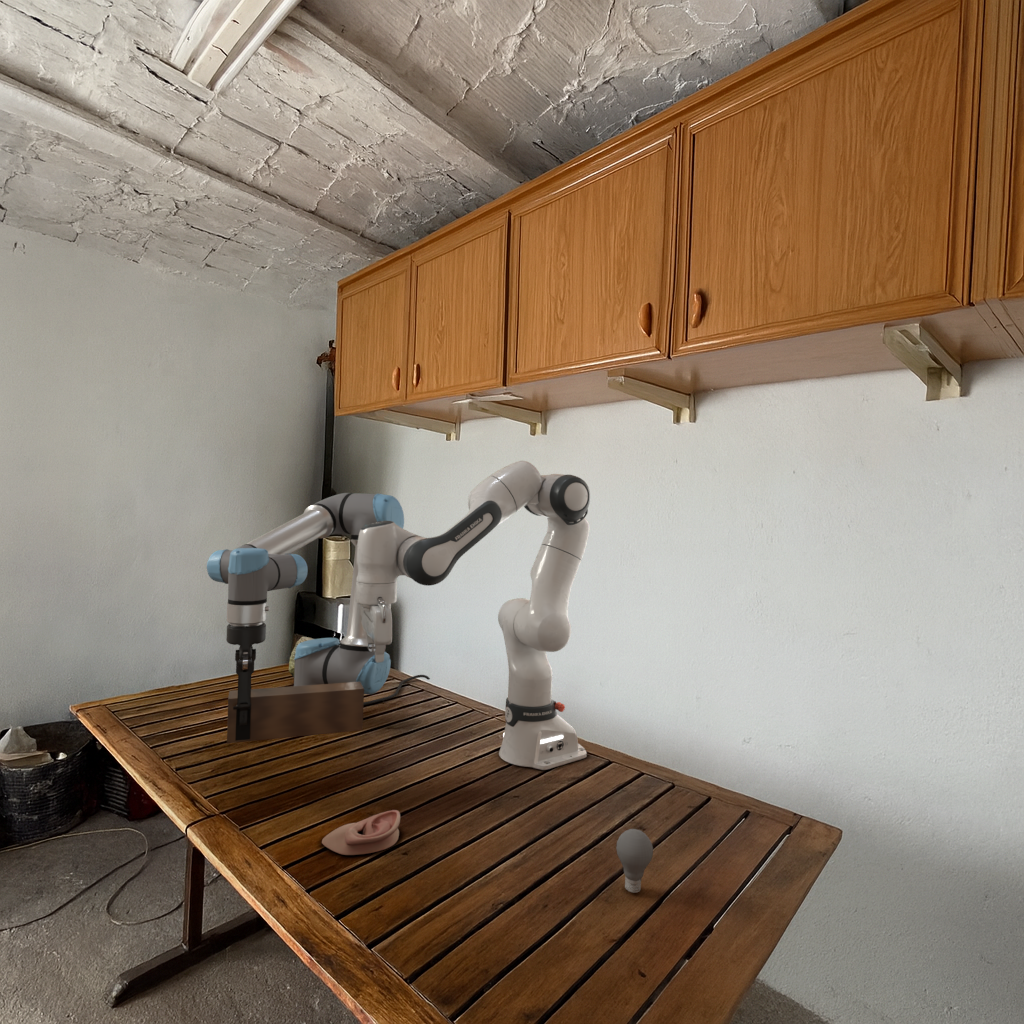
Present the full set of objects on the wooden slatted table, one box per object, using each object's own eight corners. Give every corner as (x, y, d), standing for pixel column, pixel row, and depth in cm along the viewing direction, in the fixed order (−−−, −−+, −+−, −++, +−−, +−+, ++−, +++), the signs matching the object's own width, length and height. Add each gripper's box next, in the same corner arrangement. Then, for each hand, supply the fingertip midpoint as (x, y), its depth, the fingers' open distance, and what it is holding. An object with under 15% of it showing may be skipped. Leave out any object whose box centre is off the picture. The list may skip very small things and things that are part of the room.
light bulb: (610, 879, 108) (613, 822, 108) (644, 879, 109) (647, 822, 109) (619, 902, 102) (622, 840, 102) (655, 901, 103) (658, 840, 103)
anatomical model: (313, 828, 113) (343, 799, 125) (313, 850, 113) (342, 819, 125) (383, 839, 111) (407, 808, 122) (382, 862, 111) (406, 829, 122)
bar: (226, 743, 128) (228, 698, 128) (228, 733, 133) (229, 690, 133) (362, 730, 138) (364, 688, 138) (358, 721, 143) (360, 681, 143)
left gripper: (266, 631, 124) (262, 748, 125) (265, 614, 141) (261, 717, 142) (224, 633, 121) (220, 753, 122) (228, 615, 139) (225, 720, 139)
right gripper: (400, 601, 132) (399, 667, 132) (382, 587, 151) (382, 644, 151) (369, 602, 129) (368, 669, 130) (355, 587, 148) (355, 646, 149)
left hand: (242, 733), depth 132 cm, fingers closed on bar, 6 cm apart
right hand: (375, 656), depth 141 cm, fingers open, 8 cm apart
